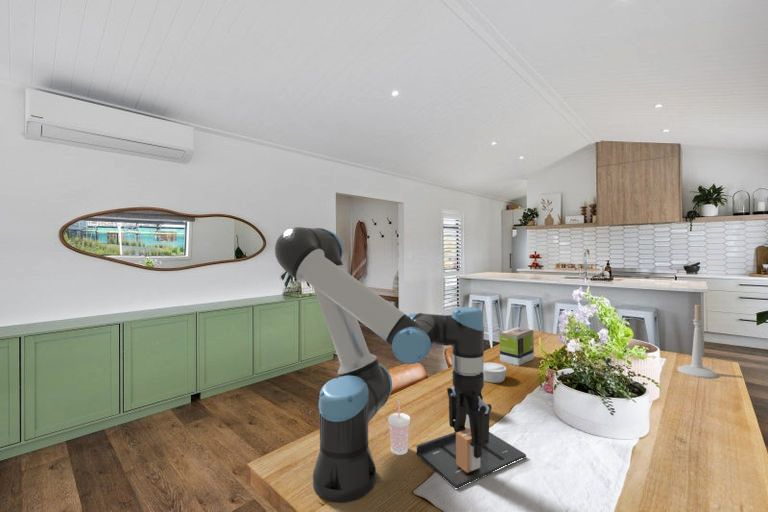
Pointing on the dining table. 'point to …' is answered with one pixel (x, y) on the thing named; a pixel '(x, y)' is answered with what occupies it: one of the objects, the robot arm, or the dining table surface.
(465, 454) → the fader terracotta
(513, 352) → the tea box
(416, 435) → the dining table surface
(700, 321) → the candlestick
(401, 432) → the beverage cup
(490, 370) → the ramekin
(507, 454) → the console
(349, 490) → the robot arm
